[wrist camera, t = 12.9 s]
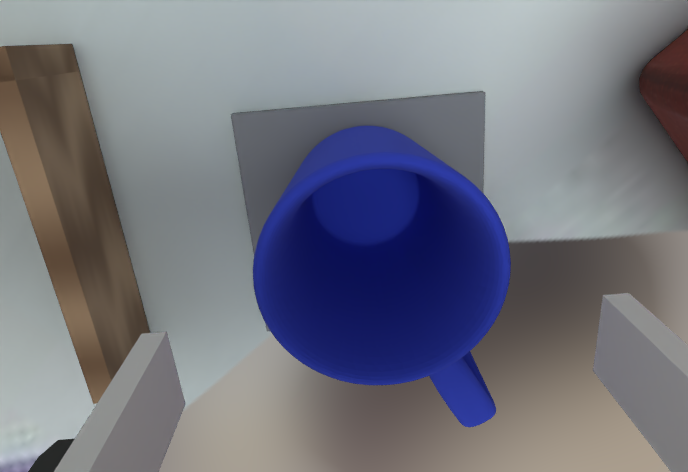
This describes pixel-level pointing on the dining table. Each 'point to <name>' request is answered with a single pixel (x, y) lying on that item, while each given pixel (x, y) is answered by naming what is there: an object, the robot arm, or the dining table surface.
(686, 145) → the plant pot
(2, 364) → the dining table surface
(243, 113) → the mat
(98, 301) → the wooden u-shaped frame
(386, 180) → the mug
